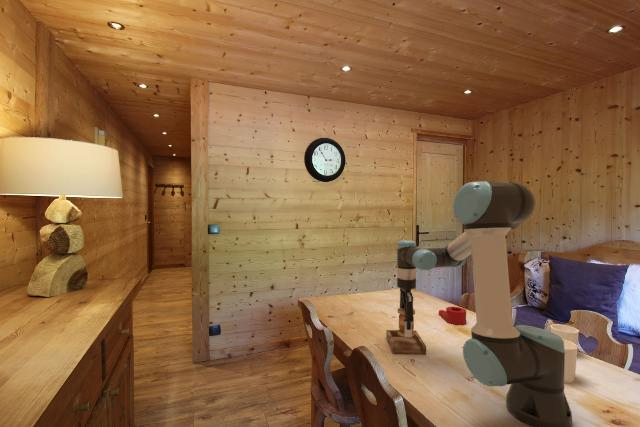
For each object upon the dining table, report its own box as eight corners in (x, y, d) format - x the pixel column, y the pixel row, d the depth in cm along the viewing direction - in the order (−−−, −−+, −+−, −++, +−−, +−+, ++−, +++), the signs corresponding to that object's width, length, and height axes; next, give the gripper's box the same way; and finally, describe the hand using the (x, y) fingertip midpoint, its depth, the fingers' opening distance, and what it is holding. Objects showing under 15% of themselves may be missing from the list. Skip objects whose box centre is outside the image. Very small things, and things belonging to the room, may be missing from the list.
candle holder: (542, 367, 116) (543, 334, 115) (577, 376, 109) (577, 342, 109) (540, 378, 108) (540, 343, 108) (577, 389, 102) (577, 352, 102)
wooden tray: (426, 354, 126) (426, 346, 126) (392, 354, 126) (392, 345, 126) (415, 338, 142) (415, 330, 142) (386, 337, 142) (386, 329, 142)
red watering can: (470, 324, 159) (470, 311, 158) (453, 326, 156) (453, 313, 156) (447, 313, 176) (447, 301, 176) (432, 314, 174) (432, 302, 174)
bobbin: (416, 337, 128) (417, 313, 128) (399, 337, 129) (399, 312, 128) (412, 331, 135) (412, 307, 135) (395, 330, 136) (396, 307, 135)
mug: (566, 360, 121) (567, 333, 121) (544, 350, 130) (544, 325, 129) (588, 357, 124) (588, 330, 124) (565, 347, 132) (565, 322, 132)
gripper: (422, 283, 121) (421, 343, 122) (410, 273, 141) (409, 324, 142) (402, 283, 122) (401, 343, 122) (392, 272, 142) (392, 324, 142)
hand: (406, 332), depth 132 cm, fingers closed on bobbin, 7 cm apart
